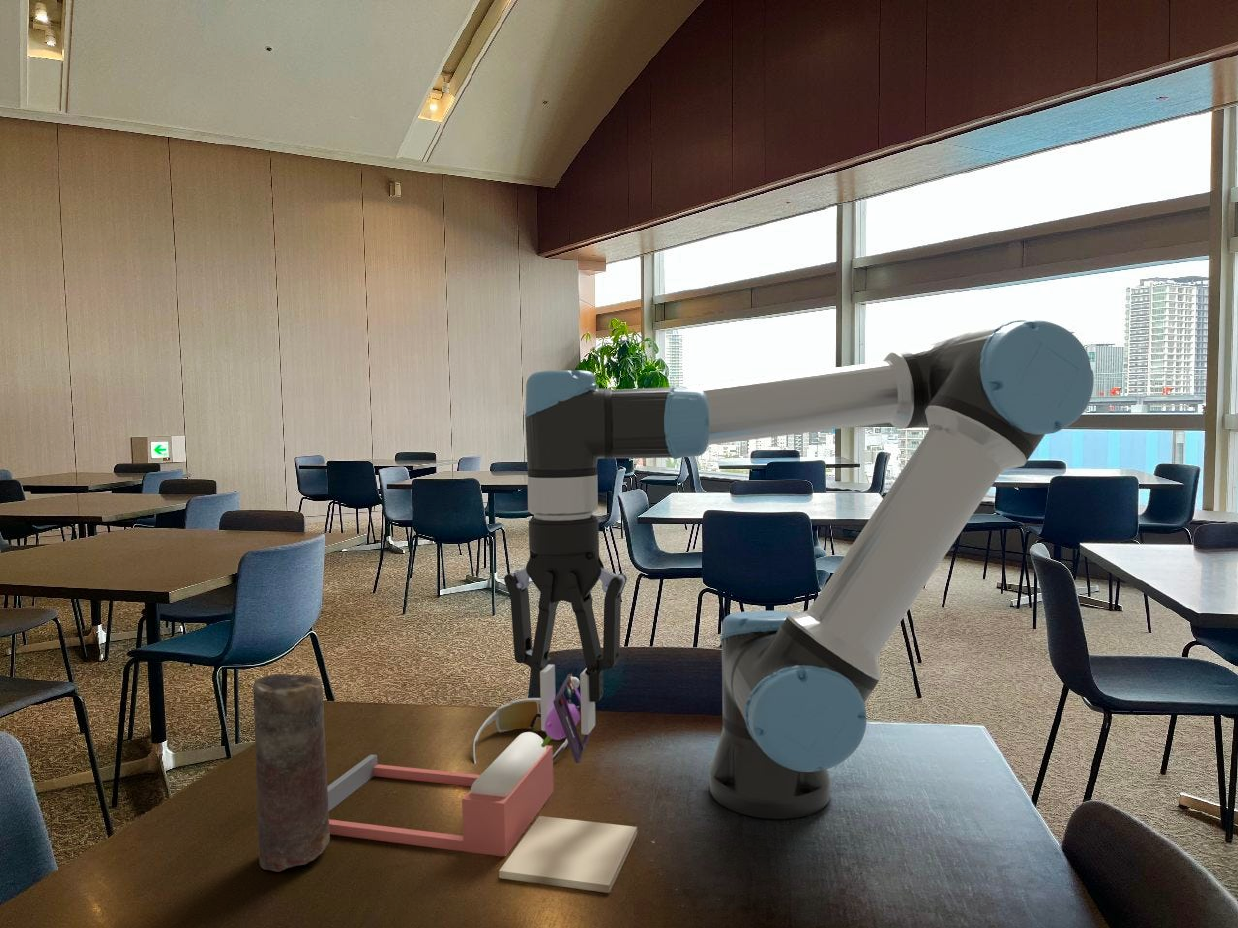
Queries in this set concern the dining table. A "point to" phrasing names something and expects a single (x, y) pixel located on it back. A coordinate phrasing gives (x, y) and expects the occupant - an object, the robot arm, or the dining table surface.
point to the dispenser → (465, 799)
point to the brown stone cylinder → (290, 770)
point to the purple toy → (566, 719)
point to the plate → (570, 854)
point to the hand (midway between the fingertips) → (568, 727)
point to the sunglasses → (516, 718)
